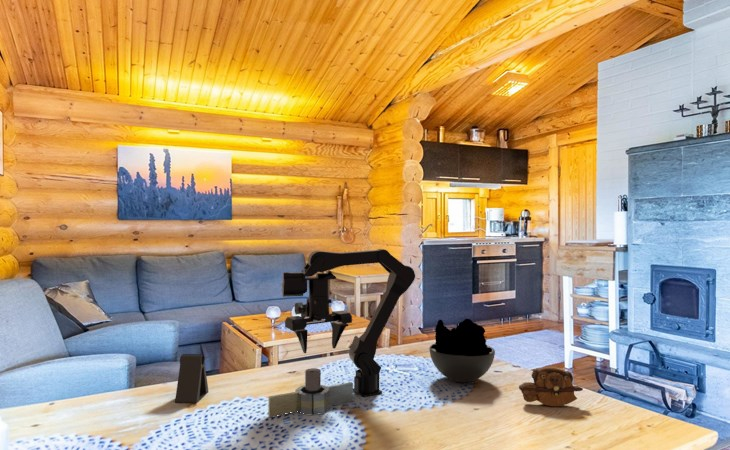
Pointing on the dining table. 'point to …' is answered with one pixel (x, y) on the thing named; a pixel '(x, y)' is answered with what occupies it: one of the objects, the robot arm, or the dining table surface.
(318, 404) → the hinge
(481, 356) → the coal bowl
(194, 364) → the phone stand
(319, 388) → the hinge pin
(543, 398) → the wooden carving
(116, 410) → the dining table surface
